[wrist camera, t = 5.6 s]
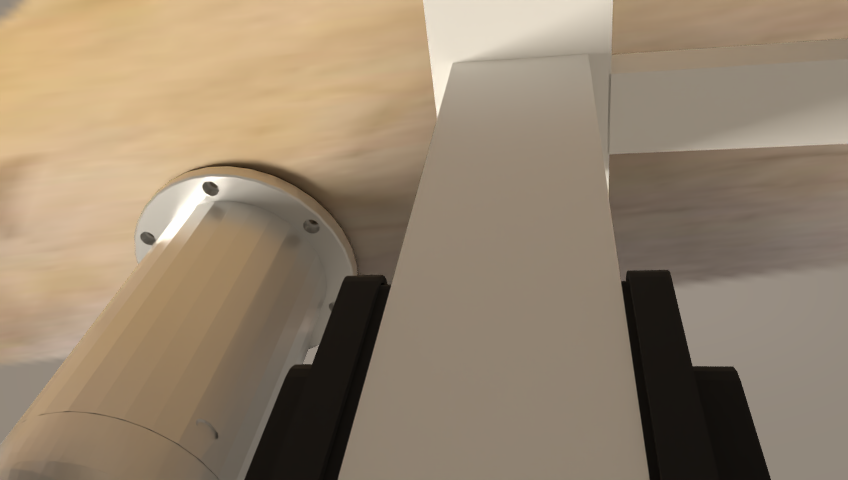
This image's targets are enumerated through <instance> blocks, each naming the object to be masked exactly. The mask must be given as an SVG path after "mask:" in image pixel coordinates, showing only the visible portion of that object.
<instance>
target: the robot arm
mask: <svg viewBox="0 0 848 480" xmlns="http://www.w3.org/2000/svg"><path fill="white" fill-rule="evenodd" d="M134 240H135V255H136V259H137V263H138V266H137V267H136V268H135V270H134V271H133V272H132V274H131V275H130V276H129V278H128V279H127V280H126V281H125V283H124V284H123V285H122V287H121V288H120V289H119V291H118V292H117V293H116V294H115V296H114V297H113V298H112V300H111V301H110V302H109V304H108V305H107V306H106V308H105V309H104V310H103V311H102V313H101V314H100V315H99V317H98V318H97V319H96V321H95V322H94V323H93V325H92V326H91V327H90V328H89V330H88V331H87V332H86V334H85V335H84V336H83V338H82V339H81V340H80V341H79V343H78V344H77V345H76V347H75V348H74V349H73V351H72V352H71V353H70V355H69V356H68V357H67V358H66V360H65V361H64V362H63V364H62V365H61V366H60V368H59V369H58V370H57V372H56V373H55V374H54V375H53V377H52V378H51V380H50V381H49V382H48V383H47V385H46V386H45V387H44V389H43V390H42V391H41V392H40V394H39V395H38V396H37V398H36V399H35V400H34V402H33V403H32V404H31V405H30V407H29V408H28V409H27V411H26V412H25V414H24V415H23V416H22V417H21V419H20V420H19V421H18V422H17V424H16V425H15V426H14V428H13V429H12V430H11V432H10V433H9V434H8V435H7V437H6V438H5V439H4V441H3V442H2V443H1V445H0V480H338V477H339V473H340V469H341V466H342V462H343V458H344V455H345V451H346V448H347V444H348V440H349V437H350V433H351V429H352V426H353V422H354V419H355V415H356V411H357V408H358V404H359V400H360V397H361V393H362V390H363V386H364V382H365V379H366V375H367V371H368V368H369V364H370V361H371V357H372V353H373V350H374V346H375V342H376V339H377V335H378V332H379V328H380V324H381V321H382V317H383V313H384V310H385V306H386V303H387V299H388V295H389V292H390V288H391V285H388V284H387V280H386V278H385V276H383V275H357V265H356V261H355V257H354V254H353V250H352V247H351V245H350V244H349V242H348V240H347V238H346V236H345V234H344V232H343V230H342V229H341V228H340V226H339V225H338V224H337V222H336V221H335V220H334V218H333V217H332V216H331V214H330V213H329V212H327V211H326V210H325V209H324V208H323V207H322V206H321V205H320V204H319V203H318V202H317V201H316V200H315V199H313V198H312V197H311V196H309V195H308V194H306V193H305V192H303V191H302V190H300V189H299V188H297V187H296V186H294V185H292V184H290V183H288V182H286V181H283V180H281V179H279V178H277V177H275V176H273V175H269V174H266V173H263V172H259V171H256V170H252V169H247V168H239V167H231V166H222V167H206V168H202V169H198V170H193V171H189V172H186V173H184V174H182V175H180V176H178V177H176V178H174V179H172V180H170V181H169V182H168V183H167V184H165V185H164V186H163V187H162V188H161V189H160V190H158V191H157V192H156V194H155V195H154V196H153V197H152V199H151V200H150V201H149V202H148V203H147V204H146V206H145V207H144V209H143V211H142V213H141V215H140V217H139V219H138V222H137V226H136V230H135V235H134ZM621 285H622V292H623V299H624V306H625V313H626V320H627V327H628V334H629V341H630V348H631V354H632V361H633V368H634V375H635V382H636V389H637V396H638V403H639V410H640V417H641V424H642V431H643V438H644V445H645V452H646V459H647V465H648V472H649V479H650V480H771V479H770V475H769V472H768V469H767V465H766V462H765V459H764V456H763V452H762V449H761V446H760V443H759V439H758V436H757V433H756V430H755V426H754V423H753V420H752V416H751V413H750V410H749V407H748V403H747V400H746V397H745V394H744V390H743V387H742V384H741V381H740V378H739V375H738V373H737V371H736V370H735V368H734V367H707V366H704V367H703V366H702V367H701V366H695V367H693V366H692V363H691V358H690V354H689V350H688V346H687V341H686V337H685V333H684V329H683V325H682V321H681V316H680V312H679V308H678V304H677V299H676V295H675V291H674V287H673V282H672V278H671V275H670V272H669V271H668V270H645V271H627V275H626V281H621ZM317 345H319V347H318V350H317V353H316V355H315V359H314V361H313V364H312V365H310V364H305V365H304V364H303V361H304V359H305V356H306V353H307V351H308V349H310V348H313V347H315V346H317Z"/></svg>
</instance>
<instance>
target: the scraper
mask: <svg viewBox="0 0 848 480" xmlns="http://www.w3.org/2000/svg"><path fill="white" fill-rule="evenodd" d="M423 4H424V12H425V21H426V29H427V37H428V46H429V54H430V62H431V71H432V79H433V87H434V96H435V104H436V112H437V121H436V125H435V128H434V132H433V136H432V139H431V143H430V147H429V150H428V154H427V157H426V161H425V165H424V168H423V172H422V176H421V179H420V183H419V187H418V190H417V194H416V197H415V201H414V205H413V208H412V212H411V216H410V219H409V223H408V226H407V230H406V234H405V237H404V241H403V245H402V248H401V252H400V255H399V259H398V263H397V266H396V270H395V274H394V277H393V281H392V284H391V288H390V292H389V295H388V299H387V303H386V306H385V310H384V313H383V317H382V321H381V324H380V328H379V332H378V335H377V339H376V342H375V346H374V350H373V353H372V357H371V361H370V364H369V368H368V371H367V375H366V379H365V382H364V386H363V390H362V393H361V397H360V400H359V404H358V408H357V411H356V415H355V419H354V422H353V426H352V429H351V433H350V437H349V440H348V444H347V448H346V451H345V455H344V458H343V462H342V466H341V469H340V473H339V477H338V480H650V479H649V472H648V465H647V459H646V452H645V445H644V438H643V431H642V424H641V417H640V410H639V403H638V396H637V389H636V382H635V375H634V368H633V361H632V354H631V348H630V341H629V334H628V327H627V320H626V313H625V306H624V299H623V292H622V285H621V278H620V271H619V264H618V257H617V250H616V244H615V237H614V230H613V223H612V216H611V209H610V202H609V154H630V153H652V152H674V151H697V150H719V149H742V148H764V147H787V146H809V145H832V144H848V38H847V39H832V40H818V41H803V42H788V43H773V44H759V45H744V46H729V47H715V48H700V49H685V50H671V51H656V52H641V53H626V54H612V12H613V0H423Z"/></svg>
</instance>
